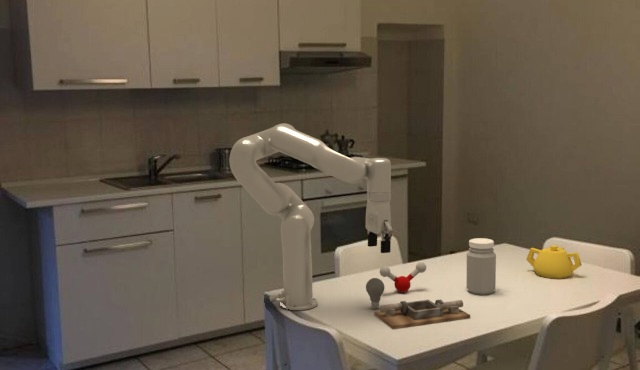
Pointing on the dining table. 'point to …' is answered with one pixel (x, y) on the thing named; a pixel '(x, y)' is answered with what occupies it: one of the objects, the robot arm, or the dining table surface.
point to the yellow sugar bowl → (553, 262)
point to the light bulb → (375, 291)
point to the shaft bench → (420, 313)
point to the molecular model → (402, 277)
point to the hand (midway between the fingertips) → (378, 249)
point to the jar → (481, 266)
